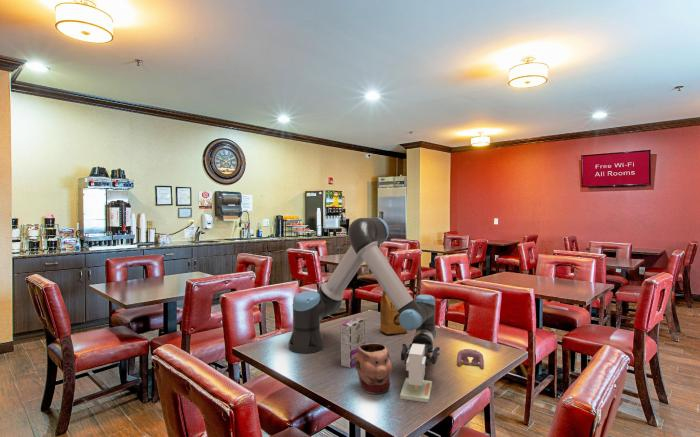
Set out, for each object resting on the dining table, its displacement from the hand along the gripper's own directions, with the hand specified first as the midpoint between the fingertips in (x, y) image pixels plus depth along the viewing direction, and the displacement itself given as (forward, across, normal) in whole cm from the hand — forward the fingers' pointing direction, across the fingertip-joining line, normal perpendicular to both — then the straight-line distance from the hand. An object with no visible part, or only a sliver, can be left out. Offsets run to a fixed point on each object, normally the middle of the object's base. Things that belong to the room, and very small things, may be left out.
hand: (415, 367), depth 124 cm
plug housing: (-5, 0, -6) cm, 8 cm away
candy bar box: (-22, +27, -10) cm, 37 cm away
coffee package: (-63, +18, -10) cm, 67 cm away
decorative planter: (-5, +15, -10) cm, 19 cm away
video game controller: (-33, -17, -11) cm, 39 cm away
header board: (-5, 0, -10) cm, 12 cm away
